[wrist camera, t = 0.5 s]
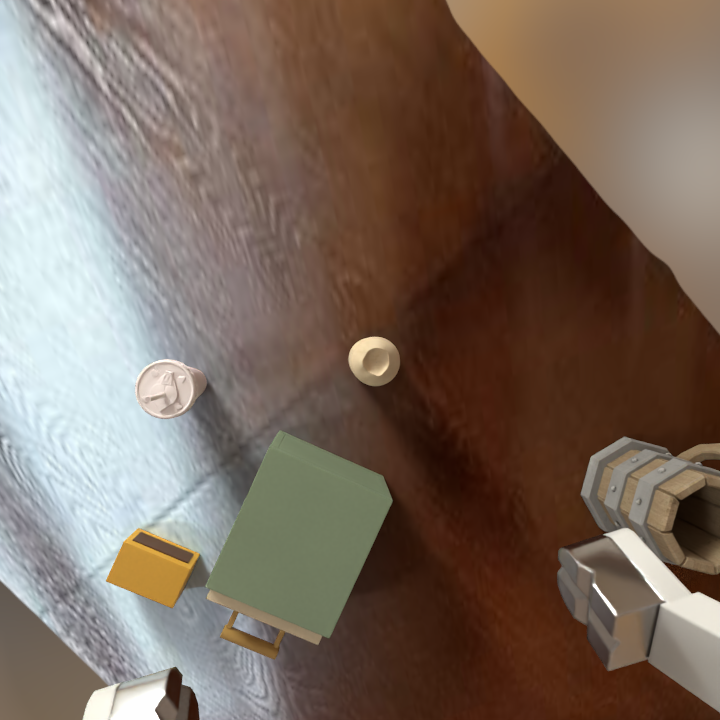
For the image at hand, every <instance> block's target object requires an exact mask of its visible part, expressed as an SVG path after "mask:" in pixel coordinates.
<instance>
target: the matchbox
mask: <svg viewBox="0 0 720 720" xmlns="http://www.w3.org/2000/svg"><path fill="white" fill-rule="evenodd" d="M199 556H200V554H199V553H197V552H194V551H192V550H189V549H187V548H185V547H182V546H180V545H177V544H175V543H173V542H170V541H168V540H166V539H163V538H161V537H158V536H156V535H154V534H151V533H149V532H146V531H144V530H142V529H139V528H138V529H137V530H136V531H135V532H134V533H133V534H132V535H131V536H129V537H128V538H127V539H126V540H125V541H124V542H123V545H122V547H121V549H120V551H119V553H118V556H117V558H116V560H115V562H114V564H113V566H112V569H111V571H110V573H109V575H108V577H107V580H106V581H107V582H109V583H112V584H114V585H117V586H119V587H121V588H124V589H126V590H129V591H131V592H134V593H136V594H139V595H141V596H143V597H146V598H148V599H151V600H153V601H156V602H158V603H160V604H163V605H165V606H168V607H170V608H173V607H174V605H175V603H176V602H177V600H178V599H179V597H180V595H181V594H182V592H183V590H184V588H185V586H186V584H187V582H188V579H189V577H190V575H191V573H192V571H193V569H194V566H195V564H196V562H197V560H198V558H199Z"/></svg>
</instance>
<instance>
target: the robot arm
mask: <svg viewBox="0 0 720 720" xmlns="http://www.w3.org/2000/svg"><path fill="white" fill-rule="evenodd" d="M558 560H559V561H560V563H561V564H562V567H561V569H560V570H559V571H558V572H557V582H558V586H559V590H560V593H561V596H562V598H563V600H564V602H565V604H566V606H567V608H568V610H569V611H570V613H571V614H572V616H573V618H575V619H576V620H578V621H580V622H581V623H583V624H585V625H587V639H588V641H589V643H590V644H591V646H592V647H593V649H594V650H595V652H596V653H597V655H598V656H599V658H600V659H601V661H602V663H603V664H604V666H605V667H606V669H607V670H608V671H610V670H614V669H617V668H620V667H624V666H627V665H630V664H634V663H637V662H640V661H643V660H647V659H648V662H649V663H650V664H652V665H653V666H655V667H656V668H657V669H659V670H660V671H662V672H663V673H665V674H666V675H667V676H669V677H670V678H672V679H673V680H674V681H676V682H677V683H679V684H680V685H682V686H683V687H684V688H686V689H687V690H689V691H690V692H691V693H693V694H694V695H696V696H697V697H699V698H700V699H701V700H703V701H704V702H706V703H707V704H708V705H710V706H711V707H713V708H714V709H716V710H717V711H718V712H720V602H718V601H716V600H714V599H712V598H710V597H708V596H706V595H704V594H702V593H700V592H697V593H694V594H691V592H690V591H689V590H688V589H687V588H686V587H685V586H684V585H683V584H682V583H681V582H680V581H679V580H678V578H677V577H676V576H675V575H674V574H673V573H672V572H671V571H670V570H669V569H668V568H667V567H666V566H665V564H664V563H663V562H662V561H661V560H660V559H659V558H658V557H657V556H656V555H655V554H654V553H653V552H652V551H651V549H650V548H649V547H648V546H647V545H646V544H645V543H644V542H643V541H642V540H641V539H640V538H639V537H638V535H637V534H636V533H635V532H634V531H632V530H630V529H629V528H622V529H619V530H616V531H612V532H609V533H606V534H601V535H598V536H595V537H592V538H589V539H586V540H583V541H580V542H577V543H574V544H571V545H568V546H565V547H562V548H561V549H560V550H559V551H558ZM182 676H183V675H182V674H181V673H180V671H179V670H178V669H177V667H173V668H170V669H167V670H163V671H160V672H157V673H153V674H150V675H147V676H143V677H140V678H137V679H134V680H130V681H127V682H122V683H119V684H116V685H112V686H109V687H106V688H103V689H100V690H97V691H94V693H93V694H92V696H91V698H90V700H89V701H88V703H87V706H86V710H85V713H84V717H83V720H199V709H198V702H197V699H196V696H195V693H194V692H193V690H192V689H191V687H188V686H185V685H182Z"/></svg>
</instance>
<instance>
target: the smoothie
mask: <svg viewBox="0 0 720 720" xmlns="http://www.w3.org/2000/svg"><path fill="white" fill-rule="evenodd" d="M206 385H207V380H206V377H205V375H204V374H203V373H202V372H201V371H200V370H198V369H195V368H191V367H187V366H186V365H184V364H183V363H181V362H178V361H176V360H168V359H166V360H159V361H157V362H154V363H151V364H150V365H148V366H147V367H145V368H144V369H143V370H142V372H141V373H140V374H139V376H138V378H137V381H136V385H135V393H136V398H137V401H138V403H139V404H140V406H141V407H142V409H143V410H144V411H145V412H147V413H148V414H150V415H152V416H154V417H156V418H161V419H170V418H174V417H178V416H180V415H182V414H184V413H186V412H187V411H188V410H189V409H190V408H191V407H192V406H193V404H194V403H195V400H196V399H197V398H198V397H199V396H200V395H201V394H202V393H203V392H204V390H205V389H206Z"/></svg>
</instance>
